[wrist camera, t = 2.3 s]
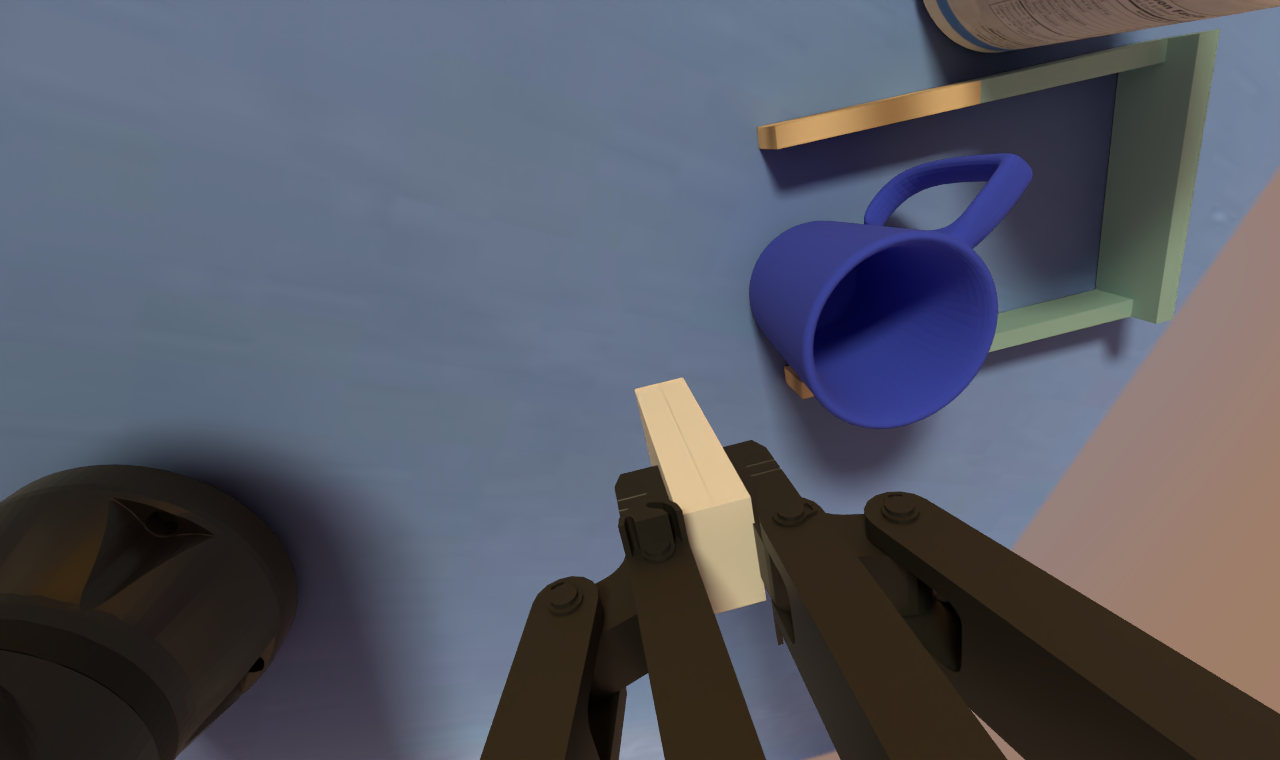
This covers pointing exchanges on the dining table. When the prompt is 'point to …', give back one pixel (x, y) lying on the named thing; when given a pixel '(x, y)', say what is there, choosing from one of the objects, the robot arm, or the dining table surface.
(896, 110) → the flange rails
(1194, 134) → the pocket
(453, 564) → the dining table surface
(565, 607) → the robot arm
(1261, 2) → the supplement tub
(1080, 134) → the dining table surface
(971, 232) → the mug
